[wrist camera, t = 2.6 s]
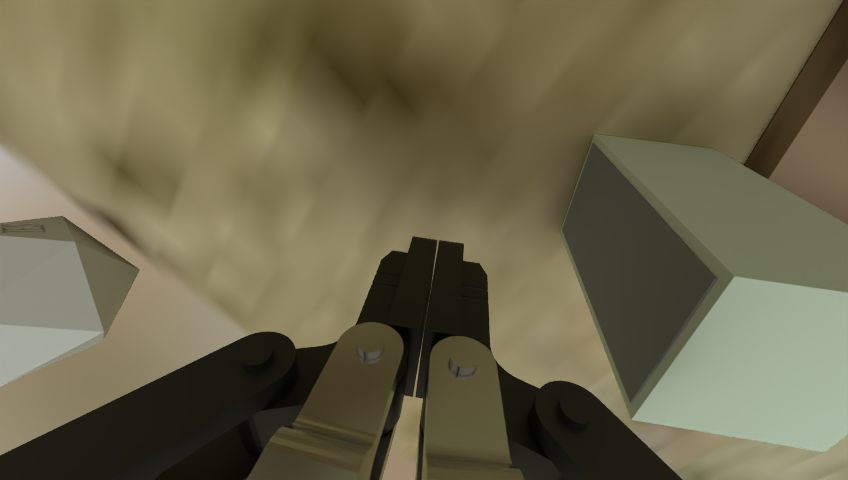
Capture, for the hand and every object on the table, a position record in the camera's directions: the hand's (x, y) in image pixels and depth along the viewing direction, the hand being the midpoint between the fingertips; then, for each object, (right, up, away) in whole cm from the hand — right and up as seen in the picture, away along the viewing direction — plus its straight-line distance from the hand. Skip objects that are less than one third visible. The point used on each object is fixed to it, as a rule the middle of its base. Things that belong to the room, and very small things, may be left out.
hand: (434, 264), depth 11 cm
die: (-22, 0, +13) cm, 25 cm away
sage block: (+9, +3, +6) cm, 11 cm away
